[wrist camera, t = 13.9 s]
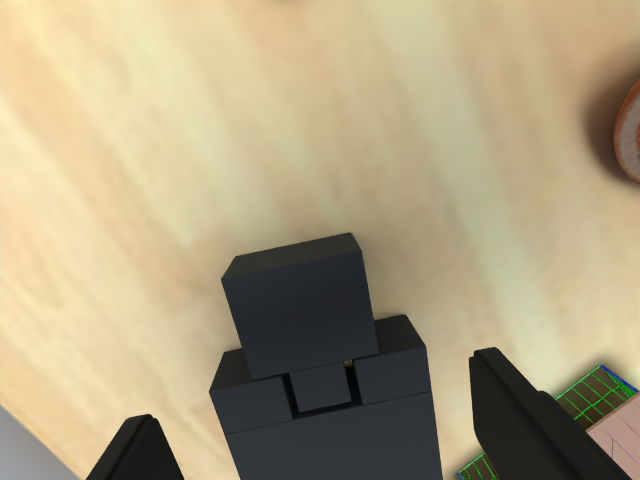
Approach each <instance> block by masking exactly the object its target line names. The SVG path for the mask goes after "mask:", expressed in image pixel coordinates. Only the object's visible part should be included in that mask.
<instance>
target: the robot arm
mask: <svg viewBox="0 0 640 480" xmlns="http://www.w3.org/2000/svg"><path fill="white" fill-rule="evenodd" d="M469 370H470V383H471V397H472V410H473V423H474V430H475V434H476V437H477V439H478V441H479V443H480V445H481V447H482V448H483V450H484V452H485V454H486V455H487V457H488V459H489V460H490V462H491V464H492V466H493V467H494V469H495V471H496V473H497V474H498V476H499V478H500V480H632V479H631V478H630V477H629V475H628V474H627V473H626V472H625V471H624V470H623V469H622V468H621V467H620V466H619V465H618V464H617V463H616V462H615V461H614V460H613V459H612V458H611V457H610V456H609V455H608V454H607V453H606V452H605V451H604V450H603V449H602V448H601V447H600V446H599V445H598V444H597V443H596V442H595V440H594V439H593V438H592V437H591V436H590V435H589V434H588V433H587V432H586V431H585V430H584V429H583V428H582V427H581V426H580V425H579V424H578V423H577V422H576V421H575V420H574V419H573V418H572V417H571V416H570V415H569V414H568V413H567V412H566V411H565V410H564V409H563V408H562V407H561V405H560V404H559V403H558V402H557V401H556V400H555V399H554V398H553V397H552V396H550V395H549V394H548V393H546V392H544V391H537V390H536V389H535V388H534V387H533V386H532V385H531V384H530V382H529V381H528V380H527V379H526V378H525V377H524V376H523V375H522V374H521V373H520V372H519V371H518V370H517V369H516V367H515V366H514V365H513V364H512V363H511V362H510V361H509V360H508V359H507V358H506V357H505V356H504V355H503V354H502V353H501V351H500V350H499V349H497V348H496V347H491V348H486V349H481V350H476V351H474V356H473V357H469ZM86 480H184V477H183V475H182V473H181V471H180V468H179V466H178V464H177V462H176V459H175V457H174V455H173V453H172V450H171V448H170V446H169V444H168V441H167V439H166V437H165V435H164V432H163V430H162V428H161V426H160V423H159V421H158V420H157V419H156V418H153V417H152V415H150V414H145V415H140V416H135V417H130V418H128V419H126V420H125V422H124V423H123V424H122V426H121V427H120V429H119V430H118V432H117V433H116V435H115V436H114V438H113V439H112V441H111V442H110V444H109V445H108V447H107V448H106V450H105V451H104V453H103V454H102V456H101V457H100V459H99V460H98V462H97V463H96V465H95V466H94V468H93V469H92V471H91V472H90V474H89V475H88V477H87V478H86Z"/></svg>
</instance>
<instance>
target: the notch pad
mask: <svg viewBox="0 0 640 480" xmlns="http://www.w3.org/2000/svg"><path fill="white" fill-rule="evenodd" d="M374 325H375V331H376V337H377V342H378V348H379V354H374V355H369V356H365V357H360V358H355V359H352V362H353V366H351V367H346V368H345V370H346V375H347V380H348V385H349V390H350V395H351V402H346V403H341V404H337V405H332V406H327V407H322V408H317V409H313V410H308V411H303V412H299V409H298V405H297V401H296V398H295V394H294V390H293V387H292V383H291V379H290V376H289V372H288V373H284V374H279V375H274V376H269V377H264V378H260V379H255V380H252V377H251V374H250V371H249V368H248V365H247V361H246V358H245V355H244V352H243V349H239V350H234V351H229V352H225V353H224V354H223V356H222V359H221V362H220V364H219V367H218V369H217V372H216V374H215V377H214V380H213V382H212V385H211V387H210V390H209V394H210V396H211V399H212V402H213V405H214V407H215V410H216V413H217V416H218V418H219V421H220V424H221V427H222V429H223V432H224V435H225V438H226V441H227V443H228V446H229V449H230V452H231V454H232V457H233V460H234V463H235V465H236V468H237V471H238V474H239V477H240V479H241V480H443V476H442V468H441V460H440V452H439V444H438V436H437V428H436V420H435V413H434V405H433V397H432V391H431V382H430V374H429V366H428V358H427V350H426V346H425V344H424V342H423V341H422V339H421V338H420V336H419V335H418V333H417V331H416V330H415V328H414V327H413V325H412V324H411V322H410V321H409V319H408V317H407V316H406V315H402V316H397V317H392V318H388V319H383V320H378V321H374Z"/></svg>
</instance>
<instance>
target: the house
mask: <svg viewBox="0 0 640 480" xmlns="http://www.w3.org/2000/svg"><path fill="white" fill-rule="evenodd" d="M600 367H601V368H603V370H604V371H605V372H606V373H607V374H608V375H609V376H610V378H611V379H612V380H613V381H614V382H615V383H616V384H617V385H618V387H617V388H615V389H614V390H612V389H611V388H610V387H608V386H607V385H606V384H604V383H603V382H602V381H601V380H599V379H598V378H597V377H595V376H594V375H593V374H592V373H593V372H595V371H596V370H597V369H599V368H600ZM589 375H593V376H594V377H595V378H596V379H598V380H599V381H600V382H602V383H603V384H604V385H606V386H607V387H608V388H609V389H611V391H610V392H608V393H607V394H606V395H604V396H603V397H601V396H600V395H599V394H598V393H596V392H595V391H594V390H593V389H591V388H590V387H589V386H588V385H587V384H585V383H584V382H583V380H584V379H585V378H587V377H588V376H589ZM613 377H614V378H613ZM581 381H582V382H583V383H584V384H585V385H586V386H588V387H589V388H590V389H591V390H593V391H594V392H595V393H596V394H597V395H599V396H600V397H601V398H602V399H600V400H599V401H598V402H596V403H595V404H593V405H592V404H591V403H589V402H588V401H587V400H586V399H585V398H584V397H583V396H581V395H580V394H579V393H578V392H577V391H576V390H574V389H573V387H575V386H576V385H577V384H579V383H580V382H581ZM618 383H619V384H618ZM624 385H625V386H624ZM618 388H620V389H621V390H622V391H623V392H624V393H625V395H626V396H627V397H628V398H629V399H628V400H625V399H624V398H623V397H621V396H620V395H619V394H618V393H616V392H615V391H616V390H617V389H618ZM571 389H573V390H574V391H576V392H577V393H578V394H579V395H580V396H581V397H582V398H584V399H585V400H586V401H587V402H588V403H589V404H590V405H591V406H589V407H588V408H587V409H585V410H584V411H583V412H581V411H580V410H579V409H578V408H577V407H576V406H575V405H574V404H573V403H571V402H570V401H569V400H568V399H567V398H566V397H565V396H564V394H566V393H567V392H568V391H569V390H571ZM612 392H615V393H616V394H617V395H619V396H620V397H621V398H622V399H624V400H625V402H624V403H623V404H621V405H620V406H618V407H617V408H615V407H614V406H612V405H611V404H610V403H609V402H607V401H606V400H605V399H604V398H605V397H606V396H607V395H609V394H610V393H612ZM562 396H564V397H565V398H566V399H567V400H568V401H569V402H570V403H571V404H573V405H574V406H575V407H576V408H577V409H578V410H579V411H580V412H581V414H580V415H579V416H577V417H576V418H574V420H576V419H578V418H579V417H580V416H582V415H584V414H583V413H584V412H586V411H587V410H588V409H590V408H591V407H594V406H595V405H597V404H598V403H599V402H601V401H602V400H605V401H606V402H607V403H608V404H610V405H611V406H612V407H613V408H614V410H613V411H612V412H610V413H609V414H607V415H606V416H604V415H603V414H602V413H601V412H600V411H599V410H597V409H596V408H595V407H594V408H595V409H596V410H597V411H598V412H600V413H601V414H602V415H603V416H604V417H603V418H602V419H601V420H599V421H598V422H596V423H595V424H594V423H593V422H592V421H591V420H590V419H589V418H588V417H587V416H585V415H584V416H585V417H586V418H588V419H589V420H590V421H591V422H592V423H593V424H594V425H592V426H591V427H589V428H588V429H587V430H585V431H586V432H587V433H588V434H589V435H590V436H591V437H592V438H593V439H594V440H595V442H596V443H597V444H598V445H599V446H600V447H601V448H602V449H603V450H604V451H605V452H606V453H607V454H608V455H609V456H610V457H611V458H612V459H613V460H614V461H615V462H616V463H617V464H618V465H619V466H620V467H621V468H622V469H623V470H624V471H625V472H626V473H627V474H628V475H629V477H630V478H631V479H632V480H640V391H638V390H637V389H635V388H634V387H633V386H631V385H630V384H628V383H627V382H626V381H624V380H623V379H621V378H620V377H618V376H617V375H616V374H614V373H613V372H611V371H610V370H609V369H607V368H606V367H604V366H603V365H602V364H601V365H599V366H598V367H597V368H595V369H594V370H593V371H591V372H590V373H589V374H587V375H586V376H585V377H583V378H582V379H581V380H579V381H578V382H577V383H575V384H574V385H573V386H571V387H570V388H569V389H567V390H566V391H565V392H564V393H562V394H561V395H560V396H558V397H557V398H556V399H555V400H558V399H559V398H560V397H562ZM483 455H485V452H484V453H483V454H482V455H480V456H479V457H478V458H476V459H475V460H474V461H472V462H471V463H470V464H468V465H467V466H466V467H464V468H463V469H462V470H460V471H459V472H458V473H457V474H458V476H459V478H460V480H463V479H465V480H467V479H466V478H465V477H464V476H462V475H461V474H460V473H461V472H462V471H464V470H466V468H468V467H469V466H470V465H472V464H474V465H475V463H474V462H475V461H477V460H478V459H479V458H481V457H482V458H483ZM483 460H484V458H483ZM484 462H485V463H486V461H485V460H484ZM486 465H487V463H486ZM475 467H476V465H475ZM487 467H488V465H487ZM476 469H477V467H476ZM488 469H489V470H490V468H489V467H488ZM477 471H478V473H479V474H480V472H479V470H478V469H477ZM466 472H467V470H466ZM490 472H491V470H490ZM467 474H468V472H467ZM491 474H492V475H493V473H492V472H491ZM468 476H469V474H468ZM480 476H481V474H480ZM497 476H498V474H497V475H496V476H494V475H493V477H494V478H493V479H492V480H496V477H497ZM469 478H470V476H469ZM481 478H482V476H481ZM470 480H471V478H470ZM482 480H484V479H483V478H482Z"/></svg>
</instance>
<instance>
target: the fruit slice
mask: <svg viewBox="0 0 640 480" xmlns="http://www.w3.org/2000/svg"><path fill="white" fill-rule="evenodd" d="M613 142H614V148H615V153H616V157H617V161H618V163H619V164H620V166H621V168H622V169H623V170H624V172H625V173H626V174H627V175H628V176H629V177H630V178H631V179H632V180H634V181H635V182H637V183H639V184H640V78H639V79H638V80H637V81H636V83H635V84H634V85H633V87H632V88H631V89H630V91H629V93H628V94H627V96H626V98H625V99H624V102H623V104H622V106H621V108H620V110H619V113H618V115H617V117H616V122H615V127H614V133H613Z"/></svg>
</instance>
